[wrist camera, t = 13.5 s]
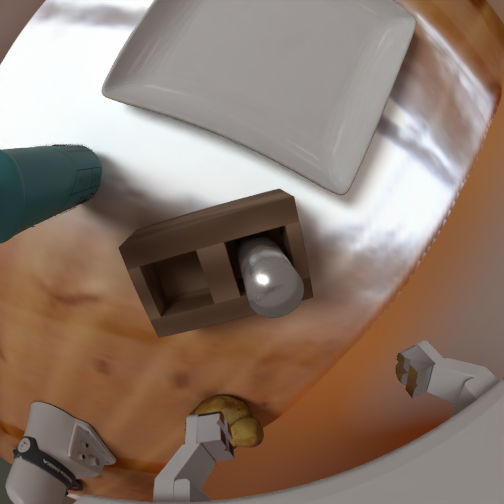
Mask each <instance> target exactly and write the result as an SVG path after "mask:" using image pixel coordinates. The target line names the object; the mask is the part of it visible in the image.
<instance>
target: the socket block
mask: <svg viewBox="0 0 504 504" xmlns="http://www.w3.org/2000/svg"><path fill="white" fill-rule="evenodd" d="M263 231H266V232H268V233H269V234H270V235H271V236H272V238H273V239H274V240H275V242H276V243H277V245H278V246H279V248H280V249H281V250H282V252H283V253H284V255H285V256H286V257H287V259H288V260H289V262H290V263H291V265H292V266H293V267H294V269H295V270H296V272H297V273H298V275H299V276H300V278H301V279H302V282H303V285H304V293H303V297H302V300H305V299H309V298H312V297H313V292H312V286H311V280H310V275H309V269H308V264H307V259H306V253H305V248H304V243H303V238H302V233H301V228H300V223H299V218H298V213H297V209H296V204H295V199H294V197H293V196H292V195H290V194H288V193H286V192H284V191H283V190H281V189H276V190H272V191H268V192H264V193H260V194H257V195H253V196H249V197H245V198H242V199H238V200H234V201H231V202H227V203H223V204H220V205H216V206H213V207H209V208H206V209H203V210H199V211H196V212H192V213H189V214H186V215H182V216H179V217H176V218H173V219H170V220H166V221H163V222H160V223H157V224H154V225H151V226H148V227H145V228H141V229H138V230H136V231H135V232H134V233H133V234H132V235H131V236H130V237H129V238H128V239H127V240H126V241H125V242H124V243H123V244H122V245H121V246H120V247H119V250H120V253H121V255H122V258H123V260H124V263H125V265H126V268H127V270H128V273H129V275H130V277H131V280H132V282H133V284H134V287H135V289H136V291H137V293H138V296H139V298H140V300H141V302H142V304H143V307H144V309H145V311H146V313H147V315H148V317H149V319H150V321H151V323H152V325H153V327H154V329H155V331H156V333H157V335H158V337H159V338H160V337H165V336H169V335H174V334H178V333H182V332H187V331H191V330H195V329H199V328H204V327H208V326H212V325H216V324H220V323H224V322H227V321H231V320H235V319H239V318H243V317H246V316H250V315H254V314H257V313H256V312H255V311H254V310H253V309H252V307H251V306H250V304H249V301H248V297H247V293H246V289H245V285H244V281H243V277H242V273H241V269H240V265H239V261H238V256H237V252H236V245H237V242H238V240H239V238H241V237H245V236H248V235H252V234H255V233H259V232H263ZM302 300H301V301H302Z"/></svg>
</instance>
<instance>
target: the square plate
mask: <svg viewBox="0 0 504 504" xmlns="http://www.w3.org/2000/svg"><path fill="white" fill-rule="evenodd" d="M416 23H417V21H416V19H415V18H414V16H413V15H412V14H410V13H409V12H408V11H407V10H405V9H404V8H403V7H402V6H400V5H399V4H398V3H396V2H395V1H393V0H154V2H153V3H152V4H151V6H150V7H149V8H148V10H147V11H146V13H145V14H144V15H143V17H142V18H141V20H140V21H139V23H138V24H137V26H136V27H135V29H134V30H133V32H132V33H131V35H130V36H129V38H128V39H127V41H126V43H125V44H124V46H123V48H122V49H121V51H120V53H119V55H118V56H117V58H116V60H115V62H114V64H113V66H112V68H111V70H110V71H109V73H108V75H107V77H106V79H105V82H104V84H103V87H102V94H103V95H104V96H105V97H107V98H109V99H112V100H115V101H118V102H121V103H124V104H128V105H132V106H135V107H140V108H143V109H147V110H150V111H153V112H157V113H160V114H163V115H166V116H170V117H173V118H175V119H178V120H181V121H185V122H187V123H190V124H193V125H196V126H199V127H201V128H204V129H206V130H209V131H211V132H214V133H216V134H219V135H221V136H223V137H225V138H228V139H230V140H232V141H234V142H237V143H239V144H241V145H244V146H246V147H248V148H250V149H252V150H254V151H256V152H258V153H260V154H262V155H264V156H266V157H268V158H270V159H272V160H274V161H276V162H278V163H280V164H281V165H283V166H285V167H287V168H288V169H290V170H292V171H294V172H296V173H298V174H300V175H302V176H303V177H305V178H307V179H309V180H311V181H312V182H314V183H316V184H317V185H319V186H321V187H323V188H325V189H327V190H329V191H331V192H333V193H335V194H339V195H344V194H346V193H347V192H348V190H349V189H350V187H351V185H352V183H353V181H354V179H355V177H356V174H357V172H358V170H359V168H360V166H361V164H362V162H363V159H364V157H365V155H366V152H367V150H368V148H369V145H370V143H371V140H372V138H373V136H374V133H375V131H376V128H377V126H378V123H379V121H380V119H381V116H382V114H383V111H384V109H385V106H386V104H387V101H388V98H389V96H390V93H391V91H392V88H393V86H394V83H395V81H396V78H397V75H398V73H399V70H400V68H401V65H402V63H403V60H404V58H405V55H406V53H407V50H408V47H409V45H410V42H411V39H412V37H413V34H414V31H415V27H416Z"/></svg>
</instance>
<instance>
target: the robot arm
mask: <svg viewBox="0 0 504 504" xmlns="http://www.w3.org/2000/svg"><path fill="white" fill-rule="evenodd" d="M397 360H398V361H399V362H398V364H397V365H396V374H397V377H398V380H399V381H400V382H401V383H402V384H405V385H406V390H407V392H408V393H409V395H410V396H411V397H412V398H414V397H416V396H418V395H420V394H422V393H424V392H426V391H427V392H429V393H431V394H433V395H435V396H438V397H440V398H442V399H445V400H447V401H449V402H452V403H454V404H456V406H455V409H454V411H453V413H452V416H453V417H452V418H451V419H449V420H447V421H446V422H444V423H443V424H441V425H439V426H438V427H436V428H435V429H433V430H431V431H430V432H428V433H426V434H425V435H423V436H421V437H419V438H417V439H416V440H414V441H412V442H410V443H408V444H406V445H404V446H402V447H400V448H398V449H396V450H395V451H392V452H390V453H388V454H386V455H384V456H382V457H380V458H377V459H375V460H373V461H370V462H368V463H366V464H363V465H361V466H358V467H356V468H353V469H350V470H348V471H345V472H342V473H339V474H337V475H334V476H331V477H328V478H324V479H321V480H318V481H315V482H311V483H308V484H304V485H300V486H297V487H293V488H289V489H284V490H280V491H275V492H270V493H265V494H260V495H254V496H248V497H241V498H234V499H226V500H215V501H211V499H210V498H209V497H208V496H207V495H206V494H204V493H203V492H202V491H201V489H202V487H203V485H204V483H205V482H206V480H207V478H208V477H209V475H210V473H211V471H212V469H213V467H214V466H215V464H216V462H217V461H223V460H228V459H234V450H233V446H232V444H231V443H230V442H231V440H232V432H231V428H230V426H229V423H228V421H227V420H224V415H223V413H222V411H217V412H211V413H204V414H197V415H190V416H188V417H187V420H186V438H185V445H182V446H181V447H180V449H179V450H178V451H177V452H176V454H175V455H174V456H173V457H172V459H171V460H170V461H169V462H168V464H167V465H166V466H165V467H164V469H163V470H162V471H161V472H160V473H159V475H158V476H157V477H156V478H155V483H154V494H153V502H144V501H131V500H121V499H113V498H105V497H99V496H93V495H84V496H82V497H81V498H79V499H78V500H77V501H76V502H75V503H74V504H504V378H503V379H501V380H500V381H499V380H498V379H497V378H496V377H495V376H494V375H493V374H492V373H491V372H490V371H489V370H488V369H487V368H486V367H483V366H479V365H474V364H470V363H466V362H462V361H458V360H454V359H450V358H445V359H444V358H443V357H442V356H441V355H440V354H439V353H438V352H437V351H436V350H435V349H434V348H433V347H432V346H431V345H430V344H429V343H428V342H427V341H425V340H424V341H422V342H420V343H418V344H416V345H414V346H412V347H410V348H408V349H406V350H404V351H402V352H400V353H398V355H397ZM14 459H15V460H14V463H13V465H12V468H11V471H10V473H9V476H8V479H7V481H6V490H7V494H8V496H9V498H10V499H11V500H12V502H13V503H14V504H63V503H64V498H65V493H66V490H69V489H70V490H74V491H77V490H75V489H73V488H78V487H77V486H72V485H73V483H74V482H75V481H76V479H83V478H89V477H96V476H98V475H100V473H101V472H102V470H103V467H104V465H111V464H114V463H116V458H115V457H114V456H113V454H112V453H111V452H110V451H109V449H108V448H107V447H106V446H105V444H104V443H103V442H102V440H101V439H100V438H99V436H98V435H97V434H96V432H95V431H94V430H93V428H92V427H91V426H90V425H89V424H87V423H85V422H83V421H81V420H78V419H75V418H74V417H72V416H70V415H69V414H67V413H65V412H64V411H62V410H60V409H58V408H56V407H54V406H52V405H49V404H46V403H42V402H34V403H32V404H31V406H30V414H29V419H28V423H27V427H26V430H25V433H24V436H23V437H22V439H21V441H20V442H19V444H18V447H17V449H16V451H15V454H14Z"/></svg>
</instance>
